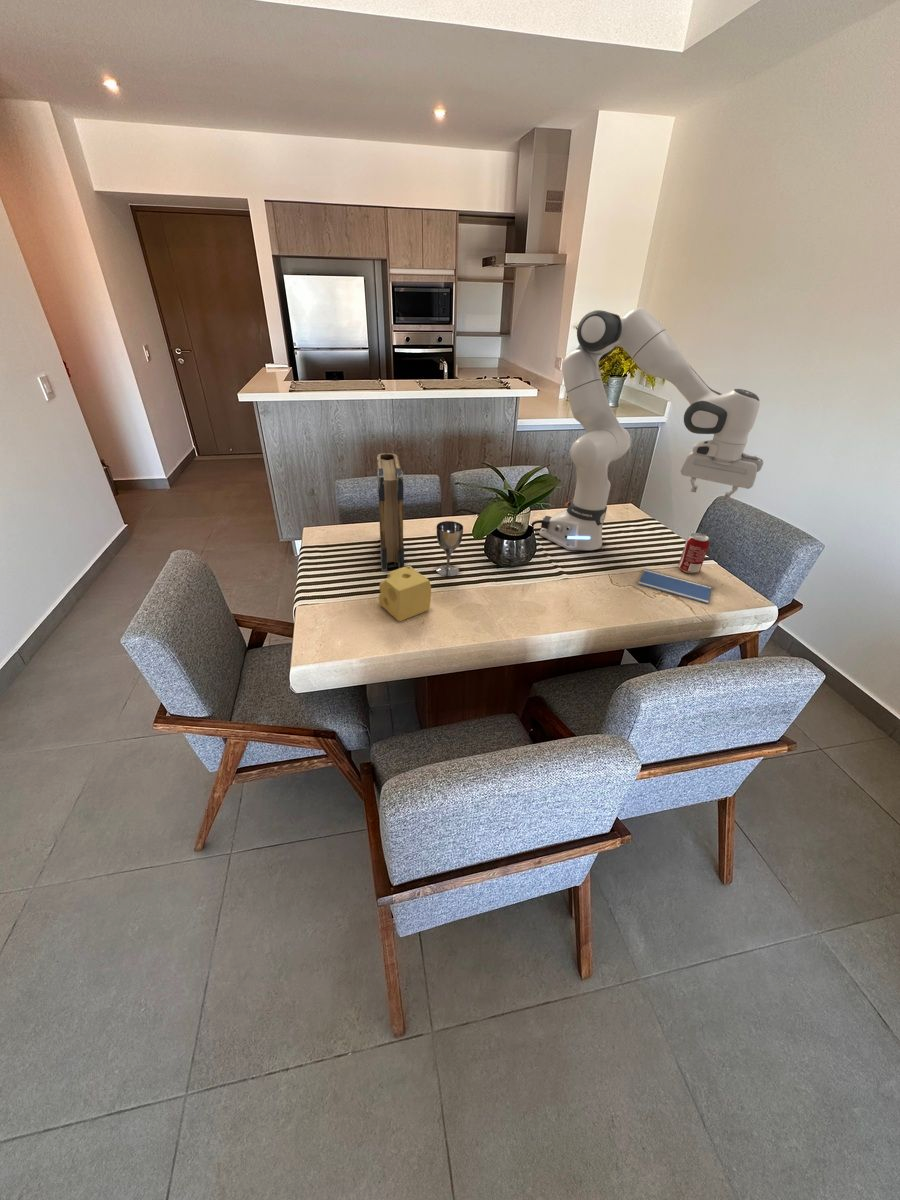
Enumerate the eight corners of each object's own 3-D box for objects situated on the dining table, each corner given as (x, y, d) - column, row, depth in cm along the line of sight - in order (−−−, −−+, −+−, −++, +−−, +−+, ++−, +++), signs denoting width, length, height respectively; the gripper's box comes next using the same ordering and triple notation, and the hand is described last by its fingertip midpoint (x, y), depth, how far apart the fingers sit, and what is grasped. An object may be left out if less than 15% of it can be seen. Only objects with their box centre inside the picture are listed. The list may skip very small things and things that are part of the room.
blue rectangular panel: (638, 584, 153) (638, 583, 153) (645, 569, 161) (645, 568, 161) (707, 604, 145) (707, 603, 145) (711, 587, 154) (711, 586, 153)
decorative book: (404, 569, 155) (403, 476, 138) (381, 570, 154) (377, 476, 137) (399, 536, 174) (398, 451, 158) (378, 537, 173) (375, 451, 157)
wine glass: (455, 562, 160) (457, 519, 152) (464, 574, 154) (467, 530, 145) (431, 566, 157) (433, 522, 149) (439, 578, 151) (441, 533, 143)
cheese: (378, 605, 138) (377, 574, 132) (411, 593, 143) (411, 563, 138) (398, 623, 131) (398, 591, 125) (432, 610, 136) (432, 579, 131)
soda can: (701, 576, 159) (713, 542, 153) (679, 573, 160) (690, 539, 154) (697, 566, 165) (708, 533, 158) (675, 563, 166) (686, 530, 159)
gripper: (766, 454, 143) (747, 500, 150) (691, 441, 151) (677, 484, 158) (765, 460, 138) (746, 506, 146) (688, 445, 146) (673, 490, 154)
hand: (709, 495), depth 152 cm, fingers open, 8 cm apart
